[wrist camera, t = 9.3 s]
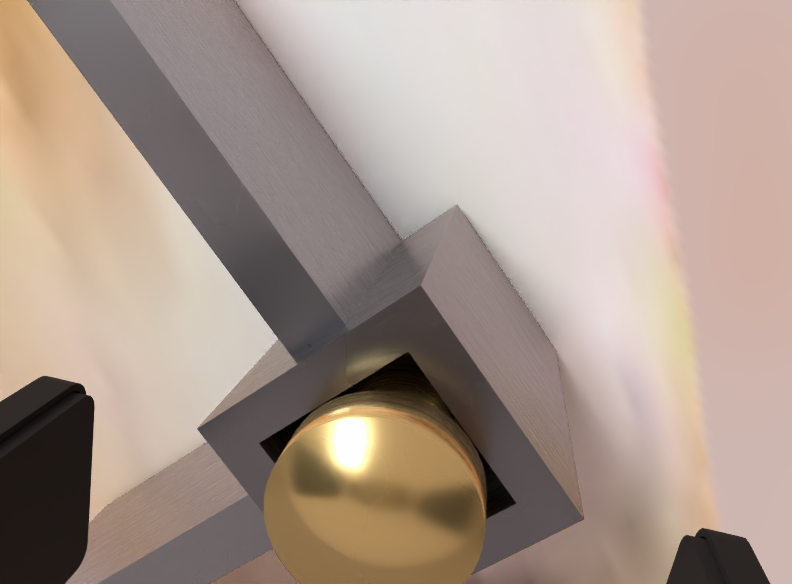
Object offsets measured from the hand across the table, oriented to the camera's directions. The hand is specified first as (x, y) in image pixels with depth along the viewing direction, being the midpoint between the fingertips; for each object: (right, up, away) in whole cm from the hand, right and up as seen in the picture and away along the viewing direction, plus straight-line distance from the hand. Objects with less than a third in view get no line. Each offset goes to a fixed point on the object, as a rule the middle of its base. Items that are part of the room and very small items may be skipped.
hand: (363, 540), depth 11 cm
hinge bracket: (-5, +4, +10) cm, 12 cm away
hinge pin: (+2, +3, +9) cm, 10 cm away
